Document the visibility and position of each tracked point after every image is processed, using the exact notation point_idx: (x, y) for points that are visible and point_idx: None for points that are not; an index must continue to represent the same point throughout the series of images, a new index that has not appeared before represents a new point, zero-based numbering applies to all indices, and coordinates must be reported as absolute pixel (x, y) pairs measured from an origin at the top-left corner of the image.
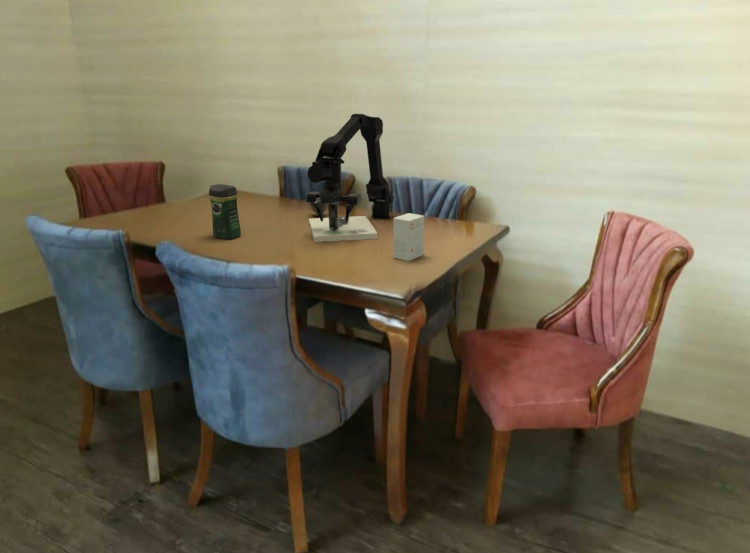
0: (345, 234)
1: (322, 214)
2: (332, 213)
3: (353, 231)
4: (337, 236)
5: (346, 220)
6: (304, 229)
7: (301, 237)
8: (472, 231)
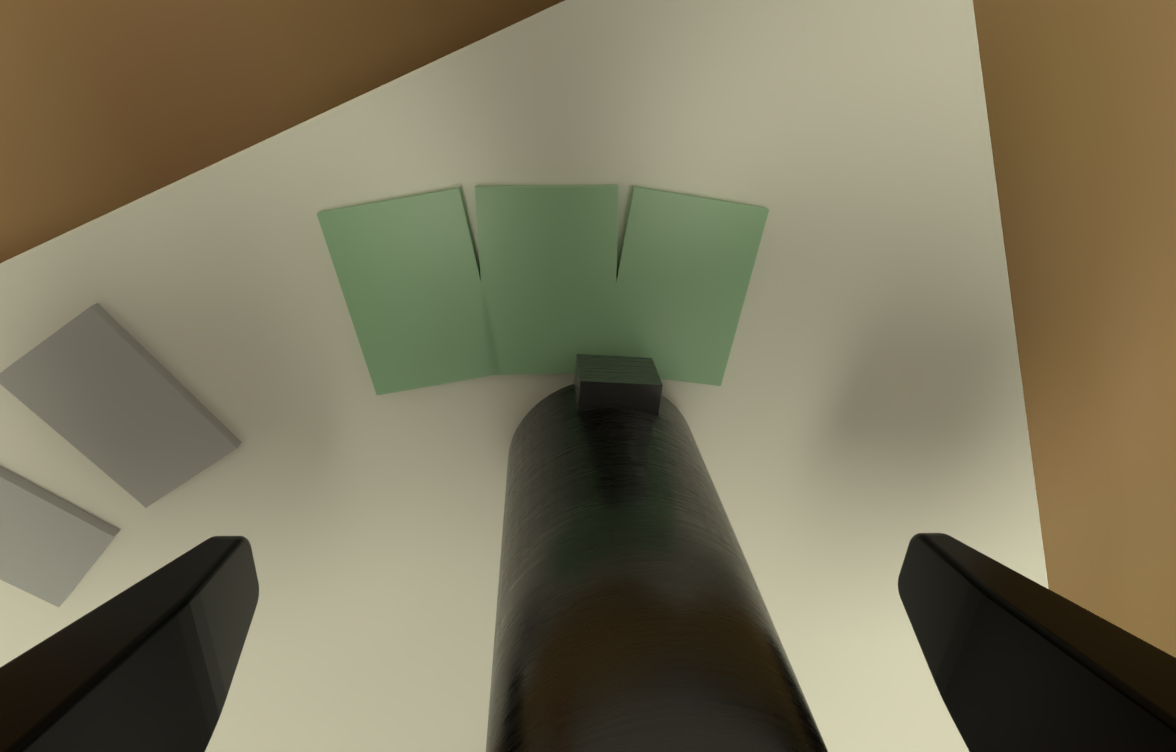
0: (226, 200)
1: (1008, 732)
2: (643, 701)
3: (145, 425)
4: (390, 83)
5: (173, 573)
6: (1093, 593)
7: (1151, 184)
8: None
